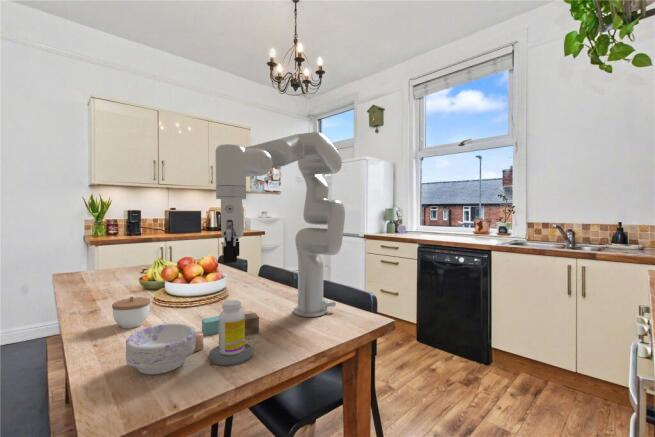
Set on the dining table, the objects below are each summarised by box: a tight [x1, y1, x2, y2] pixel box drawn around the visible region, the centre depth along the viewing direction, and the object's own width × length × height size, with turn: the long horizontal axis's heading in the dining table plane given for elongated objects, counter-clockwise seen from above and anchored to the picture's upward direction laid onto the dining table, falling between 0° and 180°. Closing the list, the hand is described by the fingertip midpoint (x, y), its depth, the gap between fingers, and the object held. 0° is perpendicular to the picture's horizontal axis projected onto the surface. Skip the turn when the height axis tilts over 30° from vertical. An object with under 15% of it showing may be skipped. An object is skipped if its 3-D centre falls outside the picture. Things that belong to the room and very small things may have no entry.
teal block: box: [201, 315, 219, 336], centre depth 101 cm, size 6×4×4 cm, turn 126°
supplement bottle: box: [218, 299, 246, 355], centre depth 84 cm, size 7×7×13 cm
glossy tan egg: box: [193, 331, 204, 353], centre depth 88 cm, size 4×4×4 cm
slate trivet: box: [208, 342, 254, 367], centre depth 84 cm, size 11×11×1 cm
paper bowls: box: [125, 322, 197, 375], centre depth 79 cm, size 15×15×8 cm
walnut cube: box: [244, 312, 260, 336], centre depth 100 cm, size 5×5×5 cm
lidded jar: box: [111, 296, 151, 329], centre depth 105 cm, size 11×11×9 cm
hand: (231, 259), depth 83 cm, fingers open, 9 cm apart
